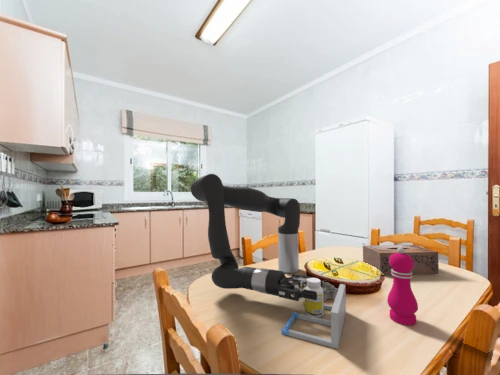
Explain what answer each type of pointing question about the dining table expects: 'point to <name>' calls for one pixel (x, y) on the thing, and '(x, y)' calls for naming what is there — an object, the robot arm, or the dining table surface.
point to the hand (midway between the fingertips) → (319, 290)
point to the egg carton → (329, 291)
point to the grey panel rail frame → (323, 321)
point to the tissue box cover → (421, 256)
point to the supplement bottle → (316, 306)
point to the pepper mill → (402, 289)
